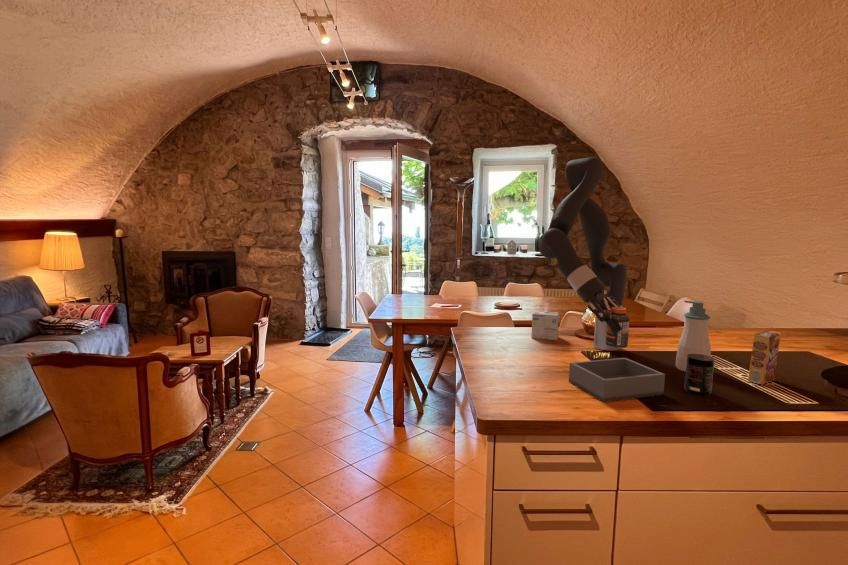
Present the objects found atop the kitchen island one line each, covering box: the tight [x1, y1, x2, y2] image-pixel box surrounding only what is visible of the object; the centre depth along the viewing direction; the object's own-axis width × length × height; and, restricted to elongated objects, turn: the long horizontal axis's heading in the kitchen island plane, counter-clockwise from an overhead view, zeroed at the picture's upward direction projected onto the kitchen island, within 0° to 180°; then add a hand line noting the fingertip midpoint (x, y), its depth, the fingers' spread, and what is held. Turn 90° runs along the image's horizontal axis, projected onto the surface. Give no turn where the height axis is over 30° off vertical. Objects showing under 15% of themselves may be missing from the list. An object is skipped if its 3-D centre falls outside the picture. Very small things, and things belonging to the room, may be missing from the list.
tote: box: [568, 357, 666, 403], centre depth 130 cm, size 20×16×6 cm
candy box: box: [747, 330, 782, 386], centre depth 136 cm, size 9×4×15 cm, turn 123°
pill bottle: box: [605, 306, 630, 349], centre depth 129 cm, size 6×6×11 cm
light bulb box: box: [530, 310, 560, 341], centre depth 188 cm, size 11×7×11 cm, turn 71°
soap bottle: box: [675, 300, 712, 373], centre depth 146 cm, size 10×10×23 cm
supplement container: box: [683, 354, 716, 397], centre depth 127 cm, size 7×7×10 cm
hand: (623, 329), depth 127 cm, fingers closed on pill bottle, 6 cm apart
